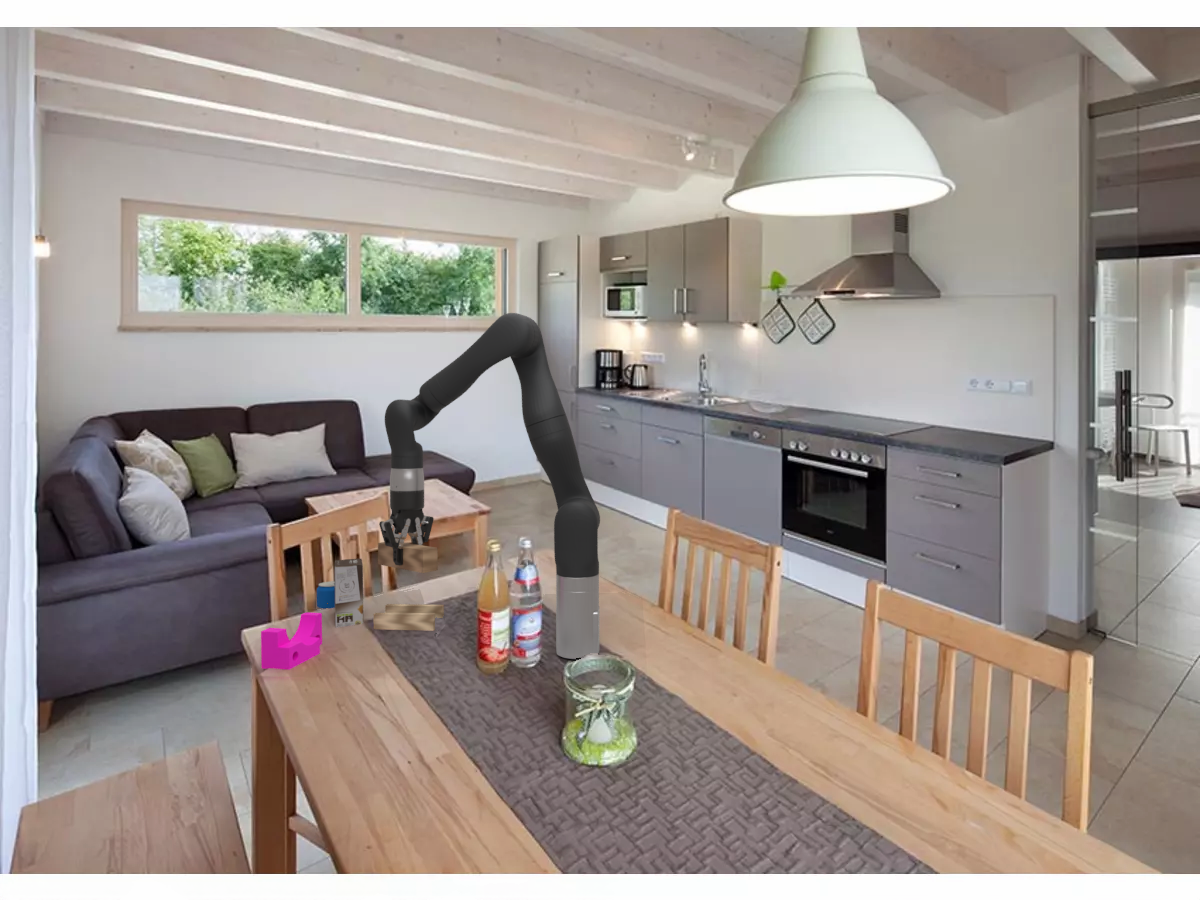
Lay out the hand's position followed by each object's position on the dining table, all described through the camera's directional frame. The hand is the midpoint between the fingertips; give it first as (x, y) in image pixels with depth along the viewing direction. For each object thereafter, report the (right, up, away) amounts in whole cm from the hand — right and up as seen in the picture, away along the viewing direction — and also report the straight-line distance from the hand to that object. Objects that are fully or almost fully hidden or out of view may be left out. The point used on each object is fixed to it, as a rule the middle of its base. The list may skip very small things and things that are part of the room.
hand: (407, 563), depth 160 cm
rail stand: (-2, -17, +8) cm, 19 cm away
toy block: (-20, -18, -12) cm, 29 cm away
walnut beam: (0, -1, 0) cm, 1 cm away
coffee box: (-16, -17, +9) cm, 26 cm away
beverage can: (-24, -20, +18) cm, 36 cm away
